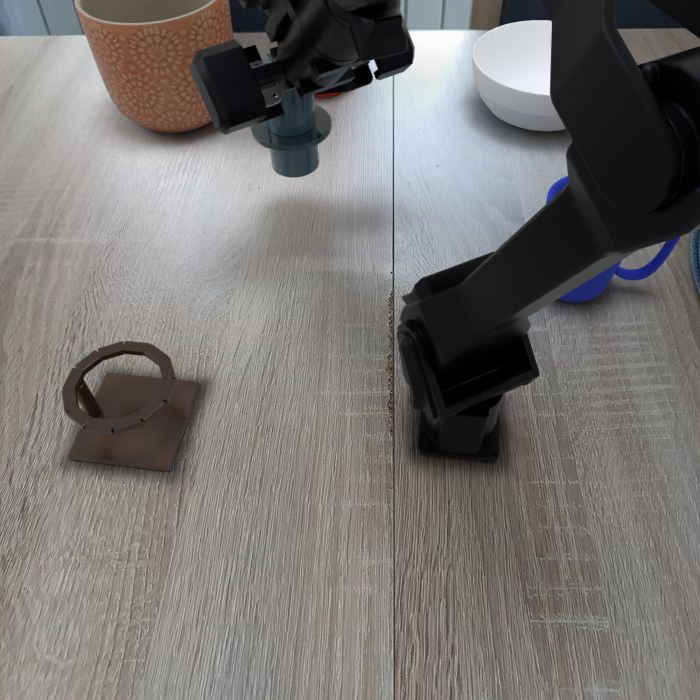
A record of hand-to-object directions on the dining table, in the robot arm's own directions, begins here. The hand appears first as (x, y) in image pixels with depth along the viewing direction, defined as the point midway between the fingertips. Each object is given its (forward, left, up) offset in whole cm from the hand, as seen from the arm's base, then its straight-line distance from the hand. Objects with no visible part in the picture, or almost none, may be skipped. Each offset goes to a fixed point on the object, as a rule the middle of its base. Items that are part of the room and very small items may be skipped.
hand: (282, 97), depth 62 cm
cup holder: (-29, +8, -14) cm, 33 cm away
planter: (+18, +19, -14) cm, 30 cm away
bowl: (+23, -27, -14) cm, 38 cm away
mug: (-8, -31, -14) cm, 35 cm away
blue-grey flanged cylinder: (-1, -1, -7) cm, 7 cm away
